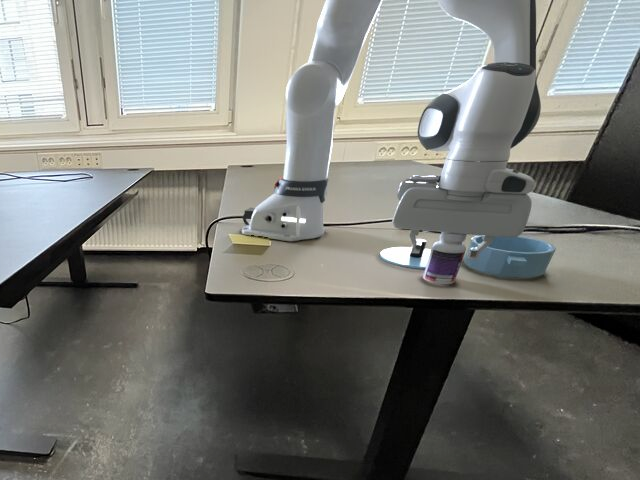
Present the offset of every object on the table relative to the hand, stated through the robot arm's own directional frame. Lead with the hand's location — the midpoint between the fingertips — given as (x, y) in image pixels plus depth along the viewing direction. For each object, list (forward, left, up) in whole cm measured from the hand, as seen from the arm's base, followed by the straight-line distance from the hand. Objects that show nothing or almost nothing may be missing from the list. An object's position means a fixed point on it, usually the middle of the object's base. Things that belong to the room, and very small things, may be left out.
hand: (442, 255), depth 78 cm
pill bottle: (+1, 0, -6) cm, 6 cm away
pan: (+13, +13, -5) cm, 19 cm away
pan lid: (-3, +12, -5) cm, 14 cm away
